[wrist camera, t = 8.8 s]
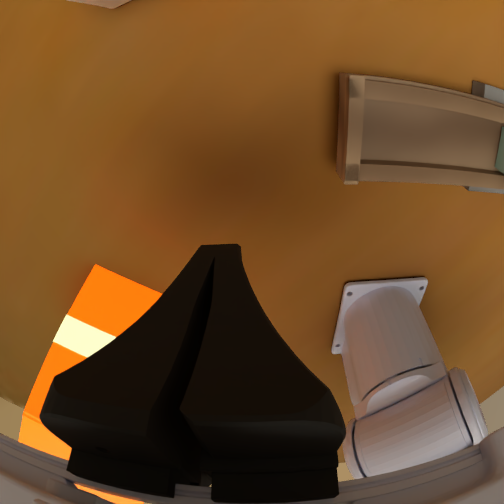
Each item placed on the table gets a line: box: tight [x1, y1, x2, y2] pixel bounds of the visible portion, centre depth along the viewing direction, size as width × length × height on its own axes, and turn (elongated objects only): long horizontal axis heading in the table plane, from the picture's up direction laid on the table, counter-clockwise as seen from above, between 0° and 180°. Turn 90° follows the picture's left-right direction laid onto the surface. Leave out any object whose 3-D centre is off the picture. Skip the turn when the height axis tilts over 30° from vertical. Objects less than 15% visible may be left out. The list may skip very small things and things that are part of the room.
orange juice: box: [18, 264, 162, 504], centre depth 19 cm, size 8×9×20 cm
